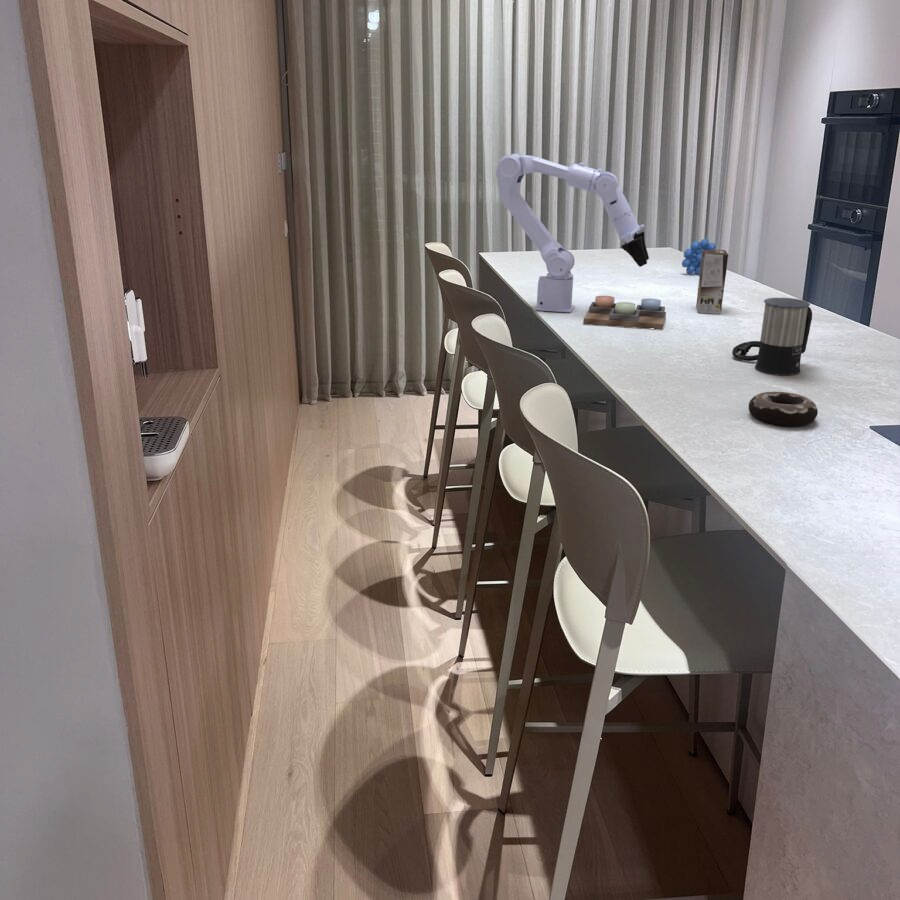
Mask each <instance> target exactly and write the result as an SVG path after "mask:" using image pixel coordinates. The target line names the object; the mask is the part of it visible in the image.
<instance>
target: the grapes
mask: <svg viewBox="0 0 900 900" xmlns="http://www.w3.org/2000/svg"><path fill="white" fill-rule="evenodd" d="M716 245H717V244H716V243H715V242H710V241H709V239H708V238H703V239H701V240H700V241H698V240H694V241H693V242H692V243H691V244H690V248H687V249H686V250H684V252H683V258H684V259H682V262H681V266H682V267H683V268H686V269H685V271H686V272H685V273H686V274H688V275H692V274H695V275H697V276H700V266H701V257H702V250H716Z"/></svg>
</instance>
